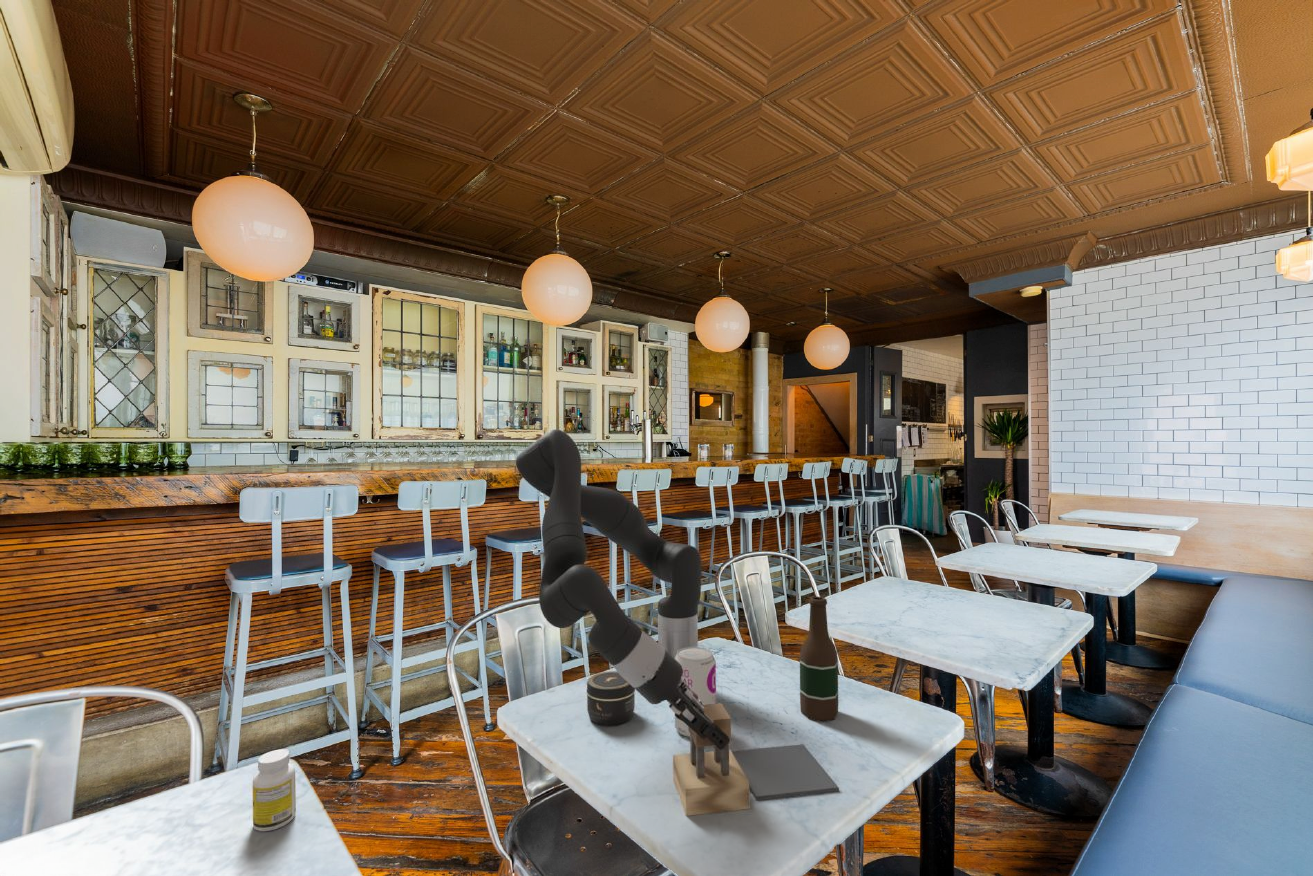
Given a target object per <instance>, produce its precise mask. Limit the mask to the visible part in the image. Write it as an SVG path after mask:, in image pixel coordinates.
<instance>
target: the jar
mask: <svg viewBox="0 0 1313 876" xmlns="http://www.w3.org/2000/svg"><path fill="white" fill-rule="evenodd" d="M635 691H636V689H634V688H633V687H632V686H631V685H630V684H629V683H628V682H627V681H626V680H625V679H624V678H623V677H622V676H621V675H620V674H619V673H618V672H617V670H615V671H611V670H610V671H603V672H598V673H595V674H594V675H592V676H590V677H589V678H588V679H587V682H586V694H587V695H586V696H587V698H586V699H587V701H586V703H587V704H586V706H587V713H588V717H589V719H590V720H591V722H593V723H594V724H596V725H599V726H603V727H615V726H616V727H617V726H620V725H624V724H626V723H627V722H629V721H630V720H631V718H632V717H633V715H634V712H635V701H636V700H635V698H636V697H635V695H636V694H635V693H636V692H635Z"/></svg>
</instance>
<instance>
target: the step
mask: <svg viewBox="0 0 1313 876" xmlns="http://www.w3.org/2000/svg"><path fill="white" fill-rule="evenodd" d="M731 751H732V750H731V749H729V775H728V776H722V774H721V762H717V763H716V762H715V760H714V750H712V751H704V757H705V778H699V779H698V778H697V775H696V765H692V764H691V760H690V753H682V754H673V755H672V775H673V776H672V780H673V782H674V786H675V789H676V790H677V794H678V797H679V799H680V803H681V805H682V808H683V810H684V811H683V812H684V815H685V817H688V816H697V815H705V814H715V813H721V812H722V813H724V812H732V811H739V810H740V811H741V810H749V809H750V789H749V781H748V779H747V778H746V776H745V774H744V772H743V771H742V769H741V767H740V765H739V764H738V762H737V760H736V759H735V757H734V755H733V753H732V752H731Z"/></svg>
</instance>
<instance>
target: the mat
mask: <svg viewBox="0 0 1313 876" xmlns="http://www.w3.org/2000/svg"><path fill="white" fill-rule="evenodd" d="M731 752H732V753H733V755H734V757H735V759H736V760H737V762H738V764H739V765H740V767H741V769H742V771H743V772H744V774H745V776H746V778H747V779H748V781H749V792H751V794H752V796H753V798H754V800H755V801H760V800H761V801H762V800H763V801H764V800H770V799H772V800H773V799H780V798H788V797H797V796H806V795H816V794H824V793H832V792H833V793H834V792H840V791H839V790H840V787H839V786H838V784H837V783H836V782H835V781H834V780H833V779H832V778H831V776H830V775H829V773H828V772H827V771H826V770H825V768H824V767H822V765H821V764H820V762H819V761H818V760H817V759H816V758H815V756H813V754H812V753H811V752H810V751H809V750H808V748H807V747H806V746H805V745H804V743H803V744H802V743H801V744H791V745H780V746H772V747H771V746H770V747H761V748H749V749H748V748H747V749H741V750H740V749H739V750H738V749H737V750H731Z"/></svg>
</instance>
